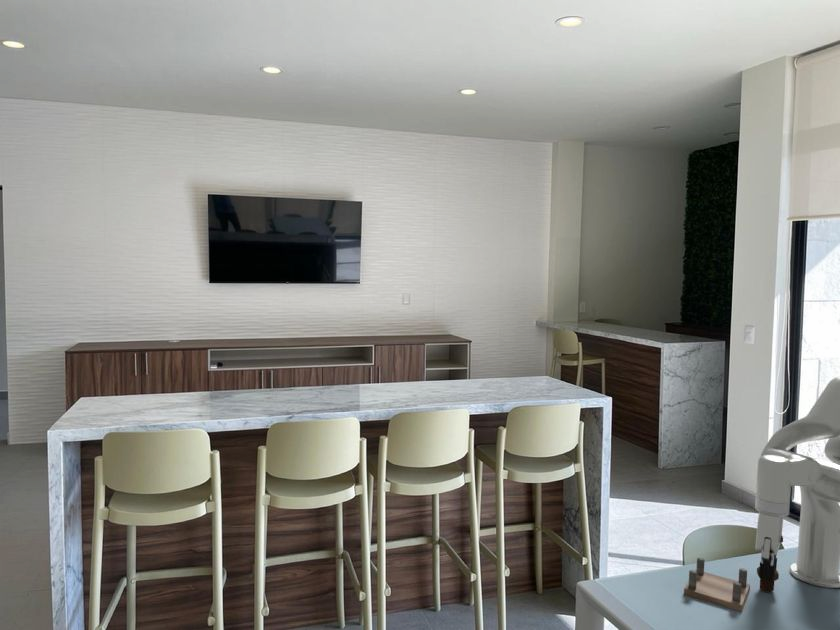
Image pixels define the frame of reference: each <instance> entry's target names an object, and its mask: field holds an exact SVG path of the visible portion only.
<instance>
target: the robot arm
mask: <svg viewBox="0 0 840 630" xmlns="http://www.w3.org/2000/svg"><path fill="white" fill-rule="evenodd" d="M821 440H822V441H823V440H827V441H826V444H825V446H824V454H825V457H826V458H827V459H828V460H827V459H823V458H812V457H810V456H808V455H804V454H800V453H797V452H795V451H791V449H793V448H794V447H795V446H798V445H800V444H803V443H807V442H813V441H821ZM756 474H757V475H756V487H755V490H756V492H755V503H754V505H755V506H754V508H755V510H756V511H757V512H758V517H757V525H756V536H755V537H756V538H755V546H754V549H755V551H756V552H760V551H761V555H760V562H759V567H760V569H759V576H758V578H759V579H764V580H768V581H773V580H774V568H775V570H777V566H778V565H777V564H778V557H776V565H775V566H774V565H773V564H774V555H776V556H777V554H778V552H779V549H780V546H781V543H780V540H781V536H783V527H784V526H783V525H784V517H787V516H789V515H790V506H791V492H792V491H791V490H792V487H794V486H796V487H799V489H800V490H799V491H800V516H799V529H798V530H799V531H798V544H797V545H798V546H797V558H796V559H797V561H796V562H794V563H792V564H790V566H789V572H790V574H791V575H792V576H793V577H795V578H796V579H798V580H800V581H802V582H804V583H807V584H810V585H811V586H812V585H813V586H816V587H821V588H828V589H829V588H831V589H835V588H836V589H838V588H839V589H840V376H837V377H834V378H832V379H831V380H830V381H829V382H828V383H827V385H826V386H825V388H824V390H823V391H822V392H821V394H820V395H819V397H818V399H816V401H815V403H814V405H813V406H812V408H811V409H810V410H809V412H808V413H807V414H806V416H804V417H803V418H799V419H797V420H793V421H792V422H791V423H789V424H787V425H785V426H783V427H781V428H779V429H778V430H777V431H775V432H774V434H772V435H771V437H770V439H769V440H768V442H767V443H766V445H765V446H764V447H763V449H762V451H761V453H760V456H759V458H758V461H757V472H756ZM770 550H772V551H773V552H772V553H771V552H770ZM769 555H771V557H769Z"/></svg>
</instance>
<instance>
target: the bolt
mask: <svg viewBox="0 0 840 630" xmlns="http://www.w3.org/2000/svg"><path fill="white" fill-rule="evenodd" d="M781 543H784V536H783V535H782V536H781V540H780V544H781ZM770 552H771V553H772V552H773V551H772V550H770ZM769 557H771V555H769ZM776 558H777V555H774V564H773V565H774V566H775V565H776ZM759 569H760V566H757V568H756V574H757V575H758V577H759ZM779 577H780V574H779V572H778V570H777V569H776V570H775V568H774V580H773V581H768V580H764V579H760V578H759V579H760V580H759V590H761V592H763V593H773V592H774V590H775V581H778V580H780V579H779Z"/></svg>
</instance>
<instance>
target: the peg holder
mask: <svg viewBox="0 0 840 630" xmlns="http://www.w3.org/2000/svg"><path fill="white" fill-rule="evenodd" d="M705 560H706V559H704V558H703V557H697V558H696V569H695V570H693V569H691V570H689V571H688V581H687V583H686V584H685V586H684V588H683V595H684V596H687V597H691V598H694V599H698V600H701V601H704V602H707V603H711V604H715V605H718V606H722V607H725V608H728V609H731V610H734V611H738V612H743V609H744V606H745V604H746V601H747V599H748V596H749V593H750V591H751V584H750V583H747V580H748V570H747V569H745V568H739V571H738V580H735V579H731V578H727V577H725V576H720V575H717V574H714V573H711V572H710V573H709V572H707V571H706V572H705Z"/></svg>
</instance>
